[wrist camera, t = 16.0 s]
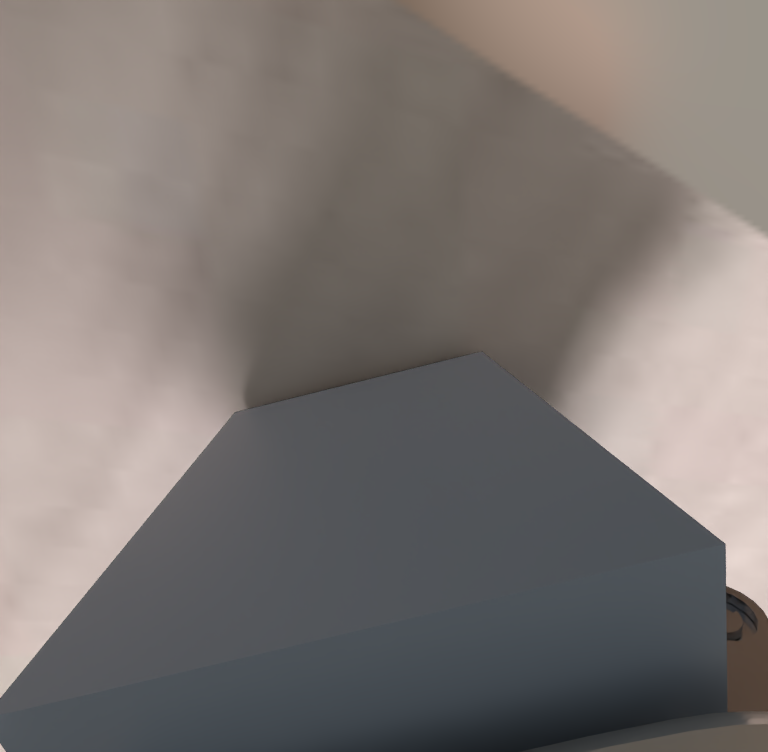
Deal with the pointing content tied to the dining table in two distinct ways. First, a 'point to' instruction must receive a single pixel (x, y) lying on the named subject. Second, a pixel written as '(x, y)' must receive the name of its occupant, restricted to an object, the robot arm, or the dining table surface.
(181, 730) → the pale blue cube
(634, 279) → the dining table surface
